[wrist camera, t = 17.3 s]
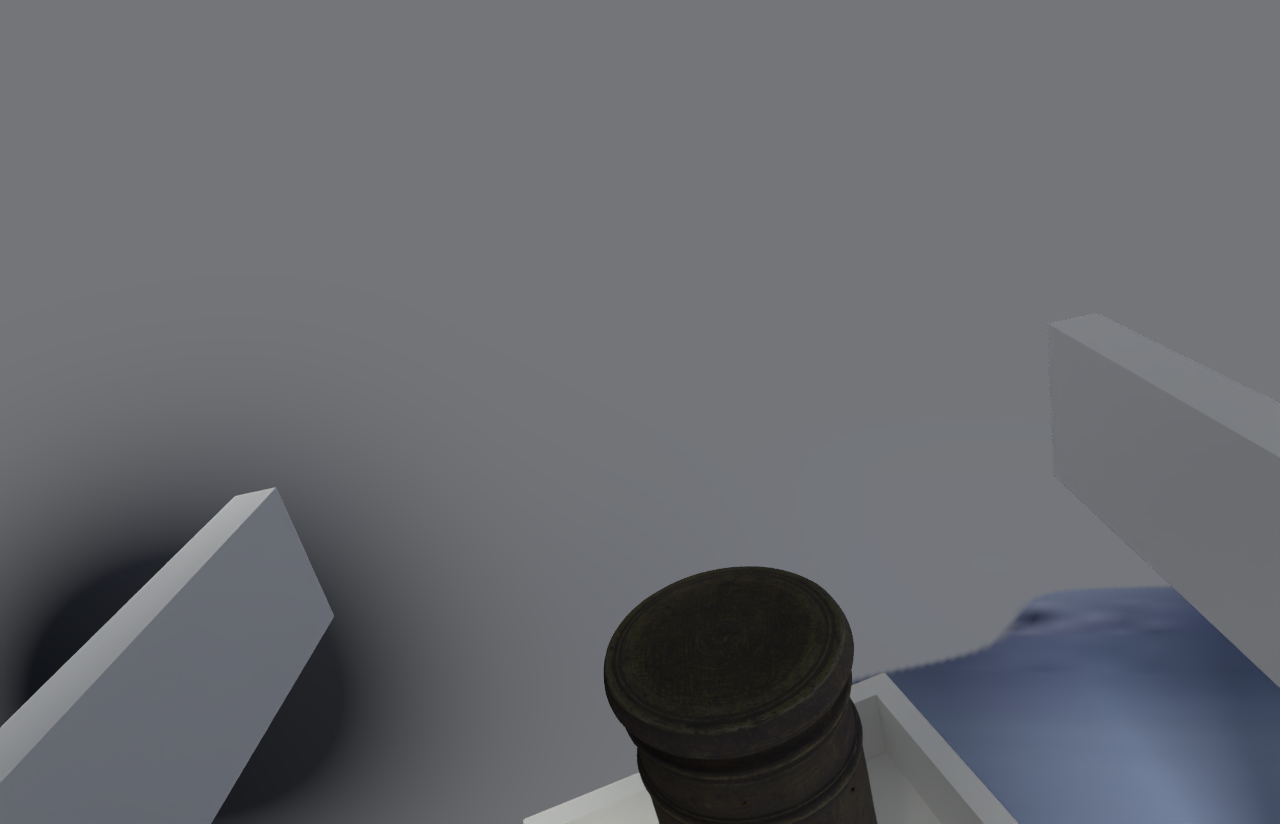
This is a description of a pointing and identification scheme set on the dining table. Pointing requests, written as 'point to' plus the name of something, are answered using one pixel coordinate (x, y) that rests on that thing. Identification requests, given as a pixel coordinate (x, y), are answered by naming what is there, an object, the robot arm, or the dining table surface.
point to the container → (742, 701)
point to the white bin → (896, 762)
